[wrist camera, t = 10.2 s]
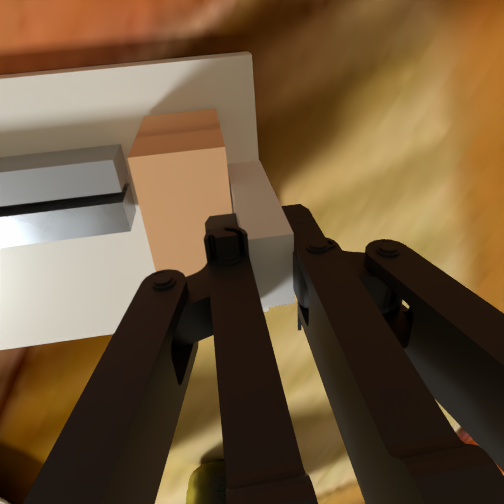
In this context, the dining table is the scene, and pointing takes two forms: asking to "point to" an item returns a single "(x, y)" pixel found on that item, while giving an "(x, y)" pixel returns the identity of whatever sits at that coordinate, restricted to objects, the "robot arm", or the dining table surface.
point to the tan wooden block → (180, 184)
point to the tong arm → (67, 218)
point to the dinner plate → (3, 501)
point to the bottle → (208, 484)
